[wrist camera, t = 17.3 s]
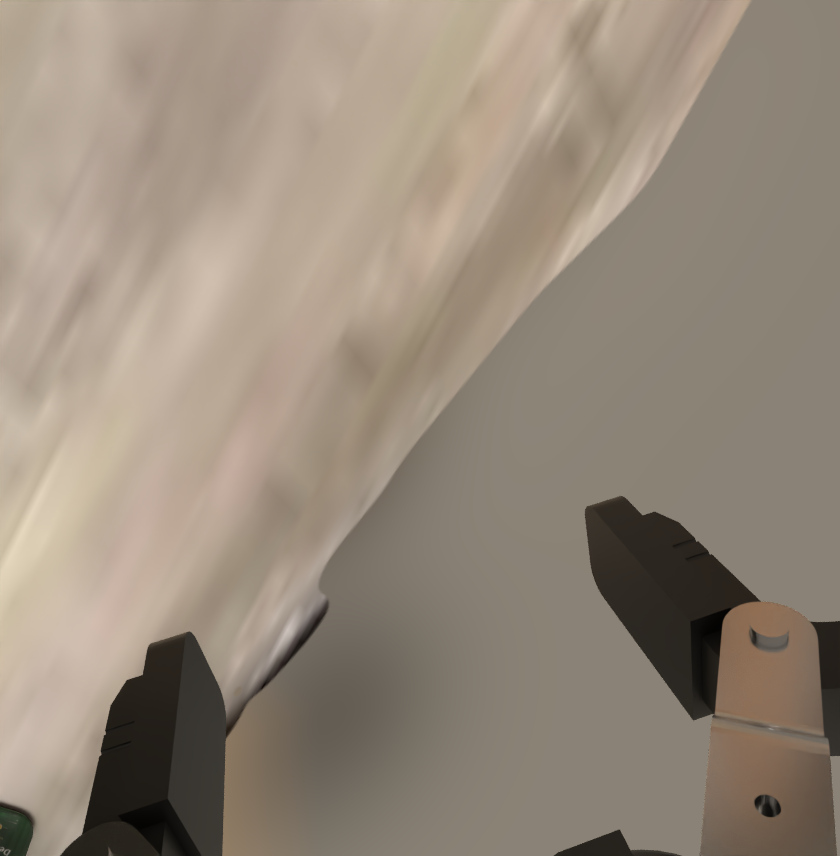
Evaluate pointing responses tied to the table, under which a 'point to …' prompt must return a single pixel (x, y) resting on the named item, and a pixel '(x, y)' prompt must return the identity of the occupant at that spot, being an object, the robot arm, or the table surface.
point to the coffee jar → (14, 833)
